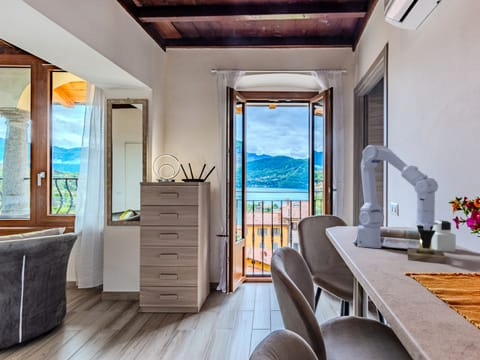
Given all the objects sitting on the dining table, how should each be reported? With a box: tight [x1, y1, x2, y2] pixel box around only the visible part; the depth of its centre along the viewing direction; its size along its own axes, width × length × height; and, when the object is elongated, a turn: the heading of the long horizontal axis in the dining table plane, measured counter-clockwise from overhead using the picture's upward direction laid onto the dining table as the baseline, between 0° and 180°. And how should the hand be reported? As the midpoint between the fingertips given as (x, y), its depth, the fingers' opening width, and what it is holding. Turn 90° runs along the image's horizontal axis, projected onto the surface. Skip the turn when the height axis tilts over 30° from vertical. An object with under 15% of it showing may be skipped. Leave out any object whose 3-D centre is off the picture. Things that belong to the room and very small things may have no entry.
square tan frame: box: [406, 247, 447, 264], centre depth 124 cm, size 12×12×2 cm
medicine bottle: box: [432, 220, 457, 253], centre depth 136 cm, size 7×7×12 cm
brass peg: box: [418, 237, 433, 255], centre depth 123 cm, size 4×4×7 cm
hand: (425, 246), depth 124 cm, fingers open, 7 cm apart
